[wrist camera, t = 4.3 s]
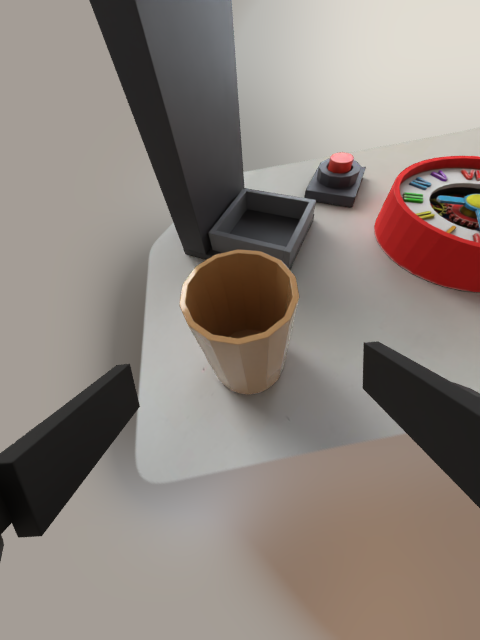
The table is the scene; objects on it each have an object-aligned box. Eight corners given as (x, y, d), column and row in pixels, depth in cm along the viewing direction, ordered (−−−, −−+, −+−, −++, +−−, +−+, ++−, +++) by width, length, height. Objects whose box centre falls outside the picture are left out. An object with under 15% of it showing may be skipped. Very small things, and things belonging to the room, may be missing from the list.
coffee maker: (284, 281, 30) (331, -100, 9) (185, 253, 35) (72, -43, 14) (313, 219, 36) (379, -91, 16) (225, 203, 41) (188, -54, 20)
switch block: (351, 207, 37) (359, 185, 34) (304, 199, 39) (307, 178, 36) (362, 177, 41) (370, 155, 38) (319, 171, 44) (323, 150, 41)
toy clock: (567, 161, 29) (644, 272, 19) (522, 205, 34) (566, 310, 24) (395, 151, 34) (390, 235, 25) (378, 190, 39) (369, 273, 30)
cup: (201, 377, 24) (156, 318, 14) (232, 320, 28) (215, 239, 17) (267, 408, 22) (272, 364, 12) (292, 341, 25) (313, 263, 15)
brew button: (347, 175, 36) (351, 164, 35) (325, 173, 37) (328, 161, 36) (352, 165, 38) (355, 153, 37) (330, 162, 39) (333, 151, 38)
